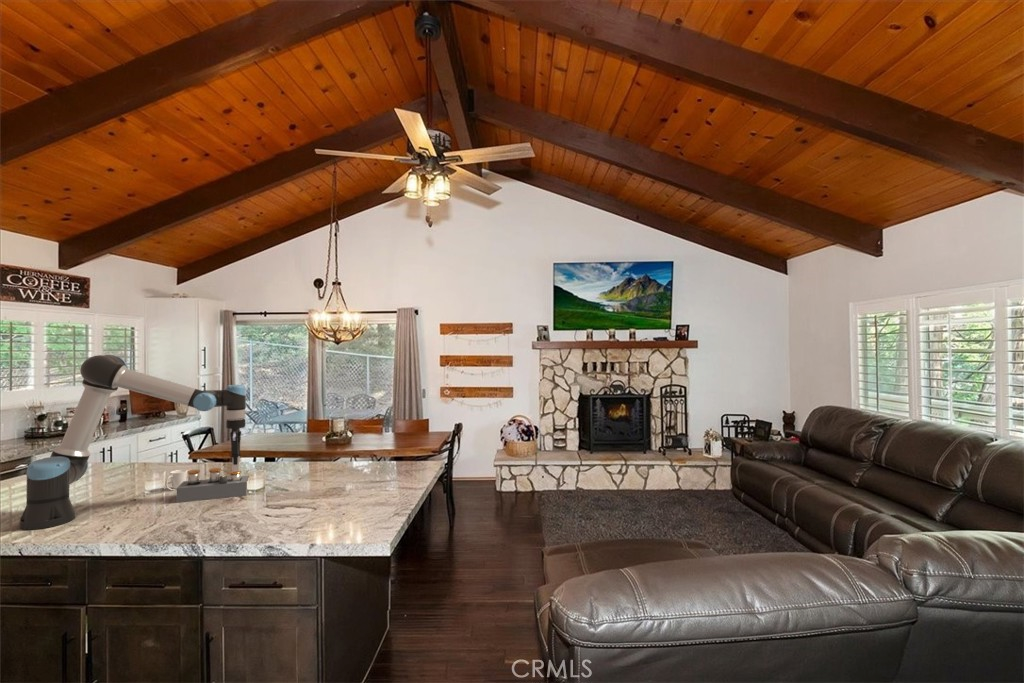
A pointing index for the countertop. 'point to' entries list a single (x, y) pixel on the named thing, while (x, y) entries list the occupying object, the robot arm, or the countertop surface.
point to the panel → (211, 490)
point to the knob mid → (214, 475)
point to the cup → (176, 478)
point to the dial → (223, 479)
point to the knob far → (235, 476)
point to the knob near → (193, 477)
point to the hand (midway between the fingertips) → (235, 471)
